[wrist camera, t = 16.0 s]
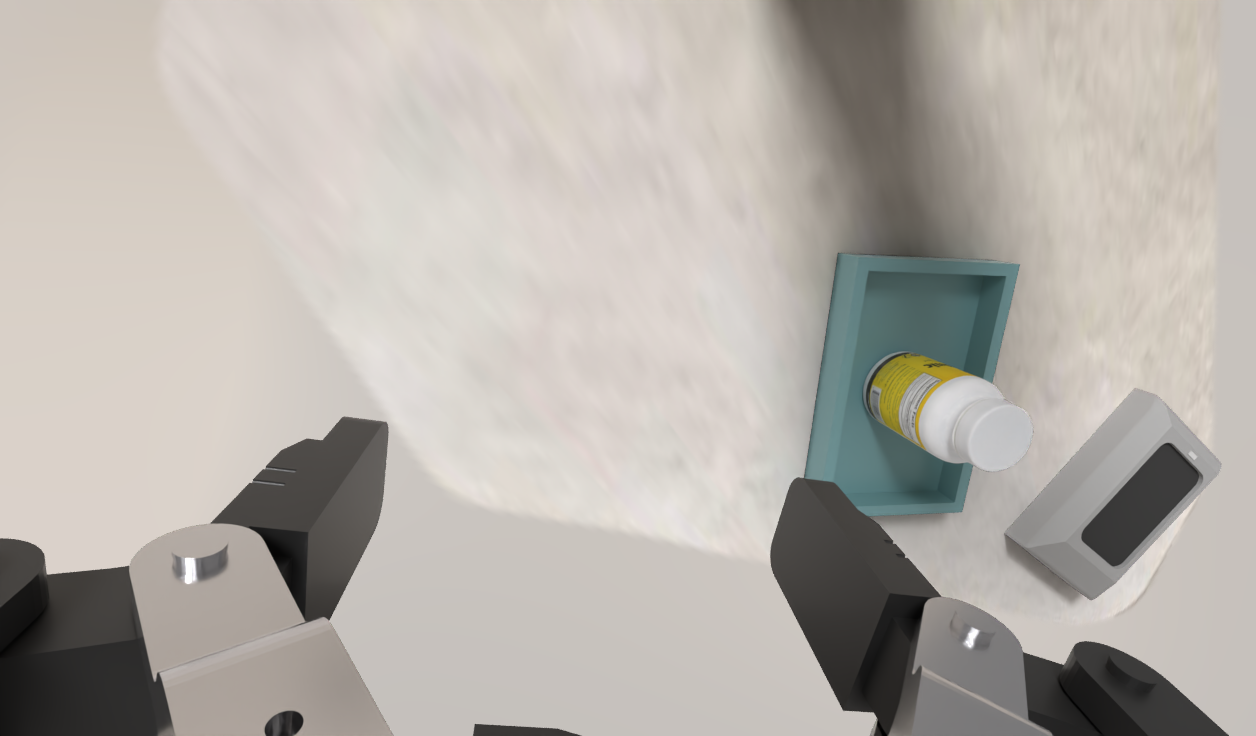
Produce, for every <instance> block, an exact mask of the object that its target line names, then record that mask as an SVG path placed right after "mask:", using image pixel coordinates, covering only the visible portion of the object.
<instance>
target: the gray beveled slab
mask: <svg viewBox="0 0 1256 736" xmlns="http://www.w3.org/2000/svg"><path fill="white" fill-rule="evenodd" d="M1220 469H1221V462H1220V461H1219V460H1218V459H1217V458H1216V457H1215V456H1214V455H1213V453H1212V452H1211V451H1210V450H1209V449H1208V448H1207V447H1206V446H1205V445H1204V444H1203V443H1202V442H1201V441H1200V440H1199V439H1198V437H1197V436H1196V435H1195V434H1194V433H1193V432H1192V431H1191V430H1190V429H1189V428H1188V427H1187V426H1186V425H1185V424H1184V423H1183V422H1182V420H1181V419H1180V418H1179V417H1178V416H1177V415H1176V414H1175V413H1174V412H1173V411H1172V410H1171V409H1170V408H1169V407H1168V406H1167V405H1166V403H1165V402H1164V401H1163V400H1162V399H1161V398H1160V397H1159V396H1157V395H1155V394H1152V393H1149V392H1146V391H1143V390H1139V389H1136V388H1134V389H1133V391H1132V392H1131V393H1130V394H1129V395H1128V396H1127V397H1126V398H1125V399H1124V401H1123V402H1122V403H1121V404H1120V405H1119V406H1118V407H1117V408H1116V409H1115V411H1114V412H1113V413H1112V414H1111V415H1110V416H1109V417H1108V418H1107V419H1106V421H1105V422H1104V423H1103V424H1102V425H1101V426H1100V427H1099V428H1098V430H1097V431H1096V432H1095V433H1094V434H1093V435H1092V436H1091V437H1090V438H1089V440H1088V441H1087V442H1086V443H1085V444H1084V445H1083V446H1082V447H1081V448H1080V450H1079V451H1078V452H1077V453H1076V454H1075V455H1074V456H1073V457H1072V458H1071V460H1070V461H1069V462H1068V463H1067V464H1066V465H1065V466H1064V467H1063V468H1062V470H1061V471H1060V472H1059V473H1058V474H1057V475H1056V476H1055V477H1054V478H1053V480H1052V481H1051V482H1050V483H1049V484H1048V485H1047V486H1046V487H1045V488H1044V490H1043V491H1042V492H1041V493H1040V494H1039V495H1038V496H1037V497H1036V498H1035V500H1034V501H1033V502H1032V503H1031V504H1030V505H1029V506H1028V507H1027V508H1026V510H1025V511H1024V512H1023V513H1022V514H1021V515H1020V516H1019V517H1018V518H1017V520H1016V521H1015V522H1014V523H1013V524H1012V525H1011V526H1010V527H1009V528H1008V530H1007V531H1006V532H1005V534H1006V535H1007V536H1008V537H1010V538H1011V539H1012V540H1013V541H1015V542H1016V543H1017V544H1018V545H1020V546H1021V547H1022V548H1023V549H1025V550H1026V551H1027V552H1028V553H1030V554H1031V555H1032V556H1033V557H1035V558H1036V559H1037V560H1038V561H1040V562H1041V563H1042V564H1043V565H1045V566H1046V567H1047V568H1048V569H1050V570H1051V571H1052V572H1053V573H1055V574H1056V575H1057V576H1058V577H1060V578H1061V579H1062V580H1063V581H1065V582H1066V583H1067V584H1069V585H1070V586H1071V587H1073V588H1074V589H1075V590H1077V591H1078V592H1080V593H1081V594H1082V595H1084V596H1085V597H1087V598H1088V599H1089V600H1093V599H1095V598H1097V597H1098V596H1099V595H1101V594H1102V593H1103V592H1104V591H1106V590H1107V589H1108V588H1110V587H1111V586H1112V585H1114V584H1115V583H1116V582H1117V581H1118V580H1119V579H1120V578H1121V577H1122V576H1123V575H1124V574H1125V573H1126V571H1127V570H1128V569H1129V568H1130V567H1131V566H1132V565H1133V564H1134V563H1135V562H1136V561H1137V560H1138V559H1139V558H1140V557H1141V556H1142V555H1143V553H1144V552H1145V551H1146V550H1147V549H1148V548H1149V547H1150V546H1151V545H1152V544H1153V543H1154V542H1155V541H1156V540H1157V539H1158V538H1159V537H1160V535H1161V534H1162V533H1163V532H1164V531H1165V530H1166V529H1167V528H1168V527H1169V526H1170V525H1171V524H1172V523H1173V522H1174V521H1175V520H1176V519H1177V517H1178V516H1179V515H1180V514H1181V513H1182V512H1183V511H1184V510H1185V509H1186V508H1187V507H1188V506H1189V505H1190V504H1191V503H1192V502H1193V501H1194V499H1195V498H1196V497H1197V496H1198V495H1199V494H1200V493H1201V492H1202V491H1203V490H1204V489H1205V488H1206V487H1207V486H1208V485H1209V484H1210V483H1211V481H1212V480H1213V479H1214V478H1215V477H1216V476H1217V475H1218V474H1219V471H1220Z"/></svg>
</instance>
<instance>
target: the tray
mask: <svg viewBox="0 0 1256 736" xmlns="http://www.w3.org/2000/svg"><path fill="white" fill-rule="evenodd" d="M1019 266H1020V264H1015V263H1008V262H1001V261H994V260H978V259H956V258H934V257H912V256H889V255H867V254H845V253H838V257H837V264H836V270H835V277H834V283H833V290H832V297H831V303H830V310H829V317H828V323H827V330H826V337H825V343H824V350H823V356H822V363H821V370H820V376H819V383H818V390H817V396H816V403H815V410H814V416H813V423H812V429H811V436H810V443H809V449H808V456H807V463H806V469H805V476H804V478H807V479H814V480H822V481H829V482H834V483H835V484H836V485H837V486H838V487H839V488H840V489H841V490H842V491H843V493H844V494H845V495H846V496H847V497H848V499H849V500H850V501H851V502H852V503H853V504H854V506H855V507H856V508H857V509H858V510H859V511H861V512H862V513H864V514H865V515H866V516H886V515H909V514H931V513H954V512H962V510H963V506H964V502H965V497H966V493H967V489H968V485H969V480H970V476H971V472H972V467H973V465H972V464H970V463H968V462H966V463H950V462H946V461H943V460H941V459H939V458H937V457H935V456H934V455H932V454H930V453H929V452H927V451H926V450H924V449H922V448H921V447H919V446H917V445H916V444H914V443H913V442H911V441H909V440H908V439H906V438H904V437H903V436H901V435H899V434H898V433H896V432H895V431H893V430H891V429H890V428H888V427H886V426H885V425H883V424H882V423H880V422H878V421H877V420H875V419H874V418H873V417H872V416H871V415H870V414H869V412H868V411H867V409H866V407H865V405H864V401H863V387H864V383H865V380H866V377H867V376H868V374H869V372H870V371H871V369H872V368H873V367H874V365H875V364H876V363H878V362H879V361H880V360H881V359H882V358H884V357H886V356H888V355H890V354H892V353H895V352H901V351H907V352H914V353H917V354H920V355H923V356H925V357H928V358H930V359H933V360H936V361H938V362H941V363H944V364H946V365H949V366H952V367H954V368H957V369H959V370H962V371H964V372H967V373H969V374H972V375H975V376H977V377H980V378H982V379H984V380H986V381H988V382H990V383H992V382H993V377H994V373H995V369H996V365H997V360H998V356H999V352H1000V347H1001V343H1002V339H1003V335H1004V330H1005V326H1006V322H1007V318H1008V313H1009V309H1010V305H1011V300H1012V296H1013V292H1014V288H1015V283H1016V279H1017V275H1018V270H1019Z"/></svg>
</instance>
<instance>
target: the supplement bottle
mask: <svg viewBox="0 0 1256 736" xmlns="http://www.w3.org/2000/svg"><path fill="white" fill-rule="evenodd" d="M863 401H864V405H865V407H866V409H867V411H868V412H869V414H870V415H871V416H872V417H873V418H874V419H875V420H877V421H878V422H880V423H882V424H883V425H885V426H886V427H888V428H890V429H891V430H893V431H895V432H896V433H898V434H899V435H901V436H903V437H904V438H906V439H908V440H909V441H911V442H913V443H914V444H916V445H917V446H919V447H921V448H922V449H924V450H926V451H927V452H929V453H930V454H932V455H934V456H935V457H937V458H939V459H941V460H943V461H946V462H950V463H966V462H968V463H970V464H972V465H973V466H975V467H977V468H979V469H981V470H984V471H988V472H998V471H1002V470H1005V469H1008V468H1009V467H1011V466H1013V465H1014V464H1016V463H1017V462H1018V461H1019V460H1020V459H1021V458H1022V457H1023V456H1024V455H1025V453H1026V452H1027V450H1028V448H1029V446H1030V444H1031V441H1032V437H1033V424H1032V421H1031V418H1030V416H1029V415H1028V413H1027V412H1026V411H1025V410H1023V409H1022V408H1020V407H1019V406H1016V405H1014V404H1012V403H1009V402H1007V401H1005V399H1004V397H1003V395H1002V393H1001V392H1000V391H999V389H998V388H997V387H996V386H994V385H993V384H992V383H990V382H988V381H986V380H984V379H982V378H980V377H977V376H975V375H972V374H969V373H967V372H964V371H962V370H959V369H957V368H954V367H952V366H949V365H946V364H944V363H941V362H938V361H936V360H933V359H930V358H928V357H925V356H923V355H920V354H917V353H914V352H907V351H901V352H895V353H892V354H890V355H888V356H886V357H884V358H882V359H881V360H880V361H879V362H878V363H876V364H875V365H874V367H873V368H872V369H871V371H870V372H869V374H868V376H867V377H866V380H865V383H864V387H863Z"/></svg>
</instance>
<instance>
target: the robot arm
mask: <svg viewBox="0 0 1256 736" xmlns="http://www.w3.org/2000/svg"><path fill="white" fill-rule="evenodd" d="M387 445H388V424H387V423H386V422H382V421H374V420H367V419H359V418H352V417H342V418H341V420H340V421H339V422H338V423H337V424H336V425H335V427H334V428H333V429H332V430H331V431H330V432H329V433H328V435H327V436H326V437H325V438H324V439H323V440H314V439H305V440H303V441H301V442H298V443H296V444H294V445H292V446H290V447H288V448H286V449H283V450H281V451H280V452H279V454H277V455H276V456H275V457H274V458H273V460H272V461H271V462H270V463H269V464H268V465H267V466H266V469H265V470H264V469H263V470H262V471H261V472H260V473H259V474H258V475H257V476H256V477H255V478H254V479H253V482H252V483H249V484H248V485H247V486H246V487H245V488H244V489H243V490H242V491H241V492H240V493H239V495H238V496H237V497H236V498H235V499H234V500H233V501H232V502H231V503H230V504H229V505H228V506H227V507H226V508H225V509H224V510H223V511H222V512H221V513H220V514H219V515H218V516H217V517H216V518H215V519H214V520H213V521H212V522H211V524H204V525H197V526H191V527H187V528H183V529H179V530H176V531H173V532H170V533H167V534H165V535H163V536H161V537H158V538H157V539H155V540H153V541H151V542H150V543H148V544H147V545H145V546H144V547H143V548H141V549H140V551H138V552H137V553H136V555H135V556H134V557H133V559H132V560H131V563H130V566H126V567H118V568H111V569H101V570H91V571H81V572H70V573H61V574H51V575H47V574H46V566H45V558H44V553H43V552H42V550H41V549H40V548H38V547H37V546H35V545H34V544H31V543H29V542H25V541H21V540H15V539H0V736H394V735H393V734H392V732H391V730H390V728H389V727H388V725H387V723H386V721H385V719H384V718H383V716H382V714H381V712H380V710H379V709H378V707H377V705H376V703H375V701H374V699H373V698H372V696H371V694H370V692H369V690H368V689H367V687H366V685H365V683H364V682H363V680H362V678H361V676H360V674H359V672H358V671H357V669H356V667H355V665H354V664H353V662H352V660H351V658H350V656H349V654H348V653H347V651H346V649H345V647H344V646H343V644H342V642H341V640H340V638H339V637H338V635H337V633H336V631H335V629H334V628H333V626H332V624H331V623H330V622H329V620H330V618H331V616H332V614H333V612H334V610H335V608H336V606H337V604H338V602H339V600H340V598H341V596H342V594H343V592H344V590H345V588H346V586H347V584H348V582H349V580H350V579H351V576H352V575H353V573H354V571H355V569H356V567H357V565H358V563H359V561H360V559H361V557H362V555H363V553H364V551H365V549H366V547H367V545H368V543H369V541H370V539H371V537H372V535H373V533H374V531H375V529H376V526H377V523H378V520H379V516H380V512H381V507H382V502H383V493H384V480H385V469H386V457H387ZM770 558H771V567H772V571H773V574H774V576H775V578H776V580H777V582H778V584H779V586H780V588H781V589H782V592H783V594H784V595H785V597H786V599H787V601H788V603H789V605H790V607H791V609H792V611H793V613H794V615H795V617H796V619H797V621H798V623H799V625H800V627H801V628H802V630H803V633H804V635H805V637H806V638H807V641H808V642H809V644H810V646H811V648H812V650H813V652H814V654H815V656H816V658H817V660H818V662H819V664H820V666H821V668H822V670H823V672H824V674H825V676H826V678H827V680H828V682H829V684H830V685H831V688H832V689H833V691H834V693H835V695H836V697H837V699H838V701H839V703H840V705H841V707H842V709H843V710H844V711H861V712H874V713H875V715H876V717H877V719H876V722H875V724H874V727H873V729H872V731H871V734H870V736H1229V735H1228V734H1226V733H1225V732H1224V731H1223V730H1222V729H1221V728H1220V727H1219V726H1217V724H1215V723H1214V722H1213V721H1212V720H1211V719H1210V718H1209V717H1208V716H1207V715H1206V714H1204V713H1203V712H1202V711H1201V710H1200V709H1199V708H1198V707H1197V706H1195V705H1194V704H1193V703H1192V702H1191V701H1190V700H1189V699H1188V698H1187V697H1186V696H1184V695H1183V694H1182V693H1181V692H1180V691H1179V690H1178V689H1177V688H1175V687H1174V686H1173V685H1172V684H1171V683H1170V682H1169V681H1168V680H1166V679H1165V678H1164V677H1163V676H1162V675H1160V674H1159V673H1158V672H1156V671H1155V670H1154V669H1152V668H1151V667H1149V666H1148V665H1146V664H1144V663H1143V662H1141V661H1139V660H1137V659H1136V658H1134V657H1132V656H1130V655H1128V654H1126V653H1124V652H1122V651H1120V650H1117V649H1115V648H1112V647H1110V646H1107V645H1104V644H1100V643H1095V642H1087V641H1084V642H1079V643H1077V644H1076V645H1075V646H1074V647H1073V649H1072V651H1071V653H1070V655H1069V657H1068V659H1067V661H1066V663H1065V664H1064V665H1062V664H1058V663H1055V662H1052V661H1049V660H1046V659H1043V658H1039V657H1036V656H1033V655H1030V654H1027V653H1024V652H1023V651H1022V647H1021V645H1020V643H1019V641H1018V639H1017V638H1016V637H1015V635H1014V634H1013V633H1012V632H1011V631H1010V630H1009V629H1008V628H1007V627H1006V626H1005V625H1004V624H1002V623H1001V622H1000V621H998V620H997V619H996V618H994V617H993V616H991V615H990V614H988V613H986V612H985V611H983V610H981V609H979V608H977V607H975V606H973V605H971V604H968V603H966V602H963V601H960V600H957V599H952V598H946V597H941V596H940V594H939V593H938V592H937V591H936V590H935V589H934V587H933V586H932V585H931V584H930V583H929V582H928V581H927V579H926V578H925V577H924V576H923V575H922V574H921V573H920V571H919V570H918V569H917V568H916V567H915V566H914V564H913V563H912V562H911V561H910V560H909V559H908V558H905V554H904V553H903V552H902V551H901V550H900V548H899V547H898V546H897V545H896V544H893V540H892V539H891V538H890V537H889V536H888V535H887V533H886V532H885V531H884V530H883V529H882V528H881V527H880V525H879V524H878V523H876V522H875V521H873V520H872V519H871V518H869V517H868V516H866V515H865V514H864V513H862V512H861V511H859V510H858V509H857V508H856V507H855V506H854V504H853V503H852V502H851V501H850V500H849V499H848V497H847V496H846V495H845V494H844V493H843V491H842V490H841V489H840V488H839V487H838V486H837V485H836V484H835V483H834V482H829V481H822V480H814V479H807V478H796V479H795V480H794V481H793V482H792V483H791V485H790V487H789V490H788V493H787V496H786V499H785V503H784V506H783V509H782V512H781V515H780V518H779V522H778V525H777V528H776V531H775V534H774V538H773V541H772V545H771V554H770ZM473 736H580V735H577V734H573V733H570V732H567V731H563V730H560V729H553V728H535V727H516V726H500V725H482V724H475V727H474V734H473Z"/></svg>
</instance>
